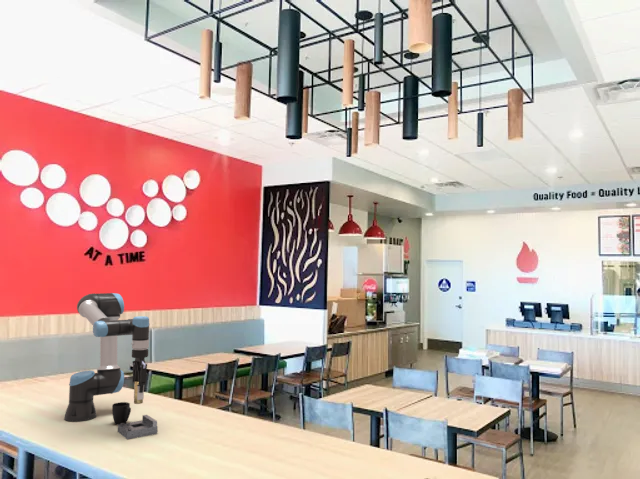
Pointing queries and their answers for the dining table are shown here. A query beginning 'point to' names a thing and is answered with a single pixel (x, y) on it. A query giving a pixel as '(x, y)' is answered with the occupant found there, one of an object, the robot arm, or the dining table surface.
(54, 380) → the dining table surface
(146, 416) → the jig
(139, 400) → the brass cylinder
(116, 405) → the mug
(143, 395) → the robot arm
